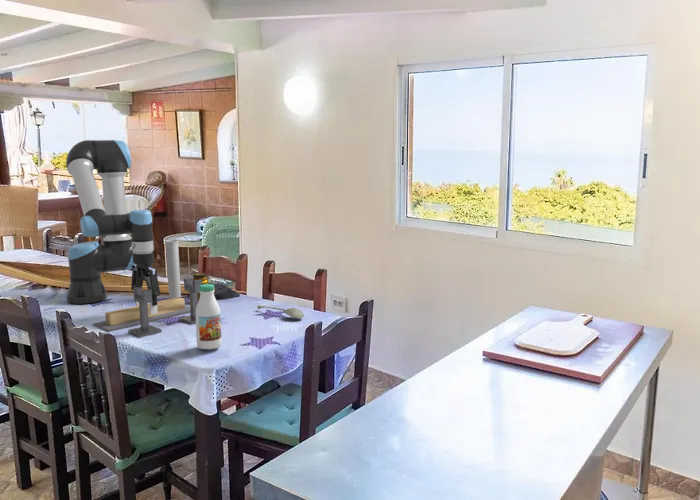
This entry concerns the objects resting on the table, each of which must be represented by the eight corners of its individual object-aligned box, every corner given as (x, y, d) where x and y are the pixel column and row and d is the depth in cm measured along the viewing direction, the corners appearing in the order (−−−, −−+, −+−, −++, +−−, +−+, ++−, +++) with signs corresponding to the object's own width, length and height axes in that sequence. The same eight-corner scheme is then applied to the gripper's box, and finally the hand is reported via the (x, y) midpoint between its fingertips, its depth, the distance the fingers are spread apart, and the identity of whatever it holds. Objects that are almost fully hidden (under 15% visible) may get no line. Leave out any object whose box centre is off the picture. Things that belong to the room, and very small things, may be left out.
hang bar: (106, 323, 216) (105, 312, 215) (179, 307, 238) (178, 297, 237) (111, 325, 213) (110, 314, 213) (184, 308, 236) (184, 298, 235)
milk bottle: (192, 348, 191) (189, 286, 188) (206, 341, 198) (203, 281, 195) (212, 351, 189) (210, 288, 185) (226, 343, 196) (223, 283, 192)
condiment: (212, 301, 251) (211, 272, 249) (203, 306, 243) (201, 277, 241) (196, 300, 252) (194, 272, 250) (186, 305, 244) (185, 276, 242)
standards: (128, 332, 208) (125, 289, 205) (197, 315, 228) (195, 276, 226) (140, 337, 203) (137, 292, 200) (210, 319, 223) (208, 279, 221)
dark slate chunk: (222, 288, 276) (222, 277, 275) (242, 297, 258) (242, 286, 257) (190, 292, 268) (189, 282, 267) (208, 302, 250) (207, 291, 249)
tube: (183, 300, 252) (180, 241, 248) (171, 302, 249) (168, 242, 245) (178, 297, 256) (175, 239, 252) (166, 299, 253) (163, 240, 249)
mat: (92, 325, 217) (92, 323, 217) (180, 305, 243) (180, 303, 243) (108, 332, 209) (108, 329, 209) (197, 311, 235) (197, 309, 235)
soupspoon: (295, 321, 223) (307, 317, 228) (295, 313, 222) (307, 309, 228) (252, 310, 236) (264, 306, 241) (252, 302, 235) (264, 298, 240)
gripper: (118, 250, 226) (122, 308, 230) (149, 257, 212) (153, 318, 216) (137, 247, 232) (140, 304, 236) (168, 254, 217) (171, 314, 221)
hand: (146, 311), depth 226 cm, fingers open, 9 cm apart
